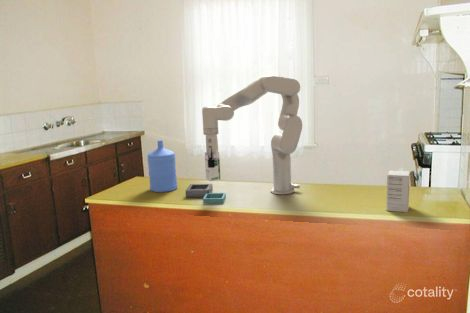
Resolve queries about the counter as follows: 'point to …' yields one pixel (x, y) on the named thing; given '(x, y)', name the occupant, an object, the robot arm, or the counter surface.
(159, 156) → the water jug
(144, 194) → the counter surface
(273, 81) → the robot arm
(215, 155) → the syrup box
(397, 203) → the supplement box
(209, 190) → the grey square tray
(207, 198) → the teal square tray
